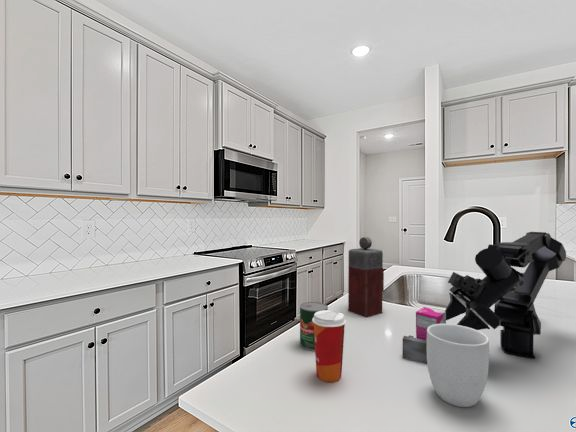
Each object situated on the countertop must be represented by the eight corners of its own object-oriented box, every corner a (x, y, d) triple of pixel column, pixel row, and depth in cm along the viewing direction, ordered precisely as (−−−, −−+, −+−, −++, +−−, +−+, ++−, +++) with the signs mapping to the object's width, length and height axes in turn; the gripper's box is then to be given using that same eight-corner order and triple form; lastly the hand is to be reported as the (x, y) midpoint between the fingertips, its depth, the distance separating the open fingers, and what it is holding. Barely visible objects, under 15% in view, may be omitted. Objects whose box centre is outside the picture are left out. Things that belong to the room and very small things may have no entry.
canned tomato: (329, 340, 88) (329, 302, 88) (325, 352, 81) (325, 311, 80) (303, 337, 90) (303, 300, 90) (296, 349, 83) (296, 308, 83)
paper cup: (323, 363, 75) (323, 307, 74) (352, 374, 70) (352, 314, 70) (305, 377, 69) (305, 315, 68) (334, 389, 64) (334, 323, 64)
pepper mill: (386, 311, 113) (387, 237, 113) (366, 317, 107) (366, 238, 107) (368, 305, 121) (368, 235, 120) (347, 310, 115) (348, 236, 114)
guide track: (456, 354, 80) (457, 335, 80) (455, 370, 72) (456, 349, 72) (408, 343, 86) (408, 326, 86) (402, 357, 78) (402, 338, 78)
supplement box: (424, 347, 84) (424, 306, 84) (447, 354, 79) (447, 311, 79) (415, 354, 80) (415, 310, 80) (438, 362, 76) (438, 316, 75)
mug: (441, 369, 72) (441, 315, 72) (496, 388, 64) (497, 327, 64) (418, 398, 61) (418, 333, 61) (481, 424, 53) (482, 351, 53)
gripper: (457, 257, 87) (416, 293, 89) (485, 269, 69) (433, 315, 71) (487, 285, 85) (445, 322, 88) (525, 306, 67) (470, 351, 70)
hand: (447, 326), depth 79 cm, fingers open, 9 cm apart
